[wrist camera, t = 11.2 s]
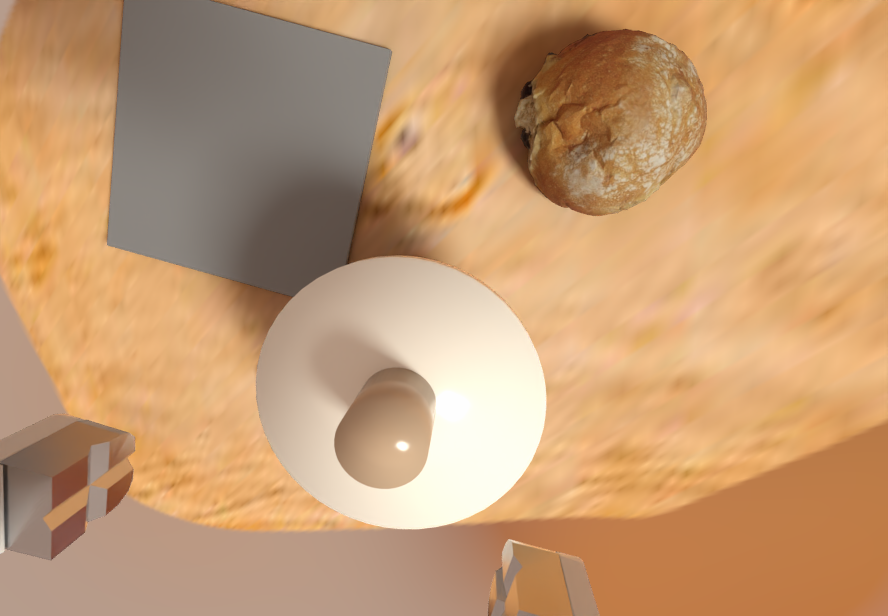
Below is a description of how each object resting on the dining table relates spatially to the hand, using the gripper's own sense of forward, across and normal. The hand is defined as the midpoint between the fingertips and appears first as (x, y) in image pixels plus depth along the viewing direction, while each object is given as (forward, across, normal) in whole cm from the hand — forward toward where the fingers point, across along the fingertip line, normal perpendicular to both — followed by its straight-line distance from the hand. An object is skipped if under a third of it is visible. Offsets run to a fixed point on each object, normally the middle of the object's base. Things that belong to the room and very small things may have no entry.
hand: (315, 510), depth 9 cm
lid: (+13, 0, +4) cm, 14 cm away
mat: (+21, +15, -6) cm, 26 cm away
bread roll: (+22, -8, -13) cm, 26 cm away
